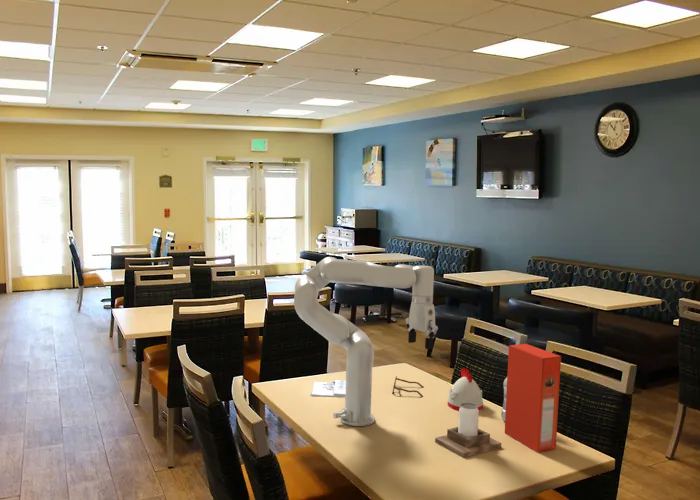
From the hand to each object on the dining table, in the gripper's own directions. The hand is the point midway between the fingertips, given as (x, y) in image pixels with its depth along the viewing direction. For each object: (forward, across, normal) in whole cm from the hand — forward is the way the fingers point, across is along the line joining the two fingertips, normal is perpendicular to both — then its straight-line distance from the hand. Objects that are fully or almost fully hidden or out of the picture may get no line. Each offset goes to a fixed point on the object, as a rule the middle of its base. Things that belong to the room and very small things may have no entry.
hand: (420, 345), depth 226 cm
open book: (+29, +44, +9) cm, 54 cm away
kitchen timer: (+29, +3, -27) cm, 39 cm away
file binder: (+28, -34, -22) cm, 50 cm away
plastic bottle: (+28, -18, -30) cm, 45 cm away
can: (+27, -26, -1) cm, 37 cm away
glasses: (+29, +28, -18) cm, 44 cm away
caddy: (+28, -26, -1) cm, 38 cm away
